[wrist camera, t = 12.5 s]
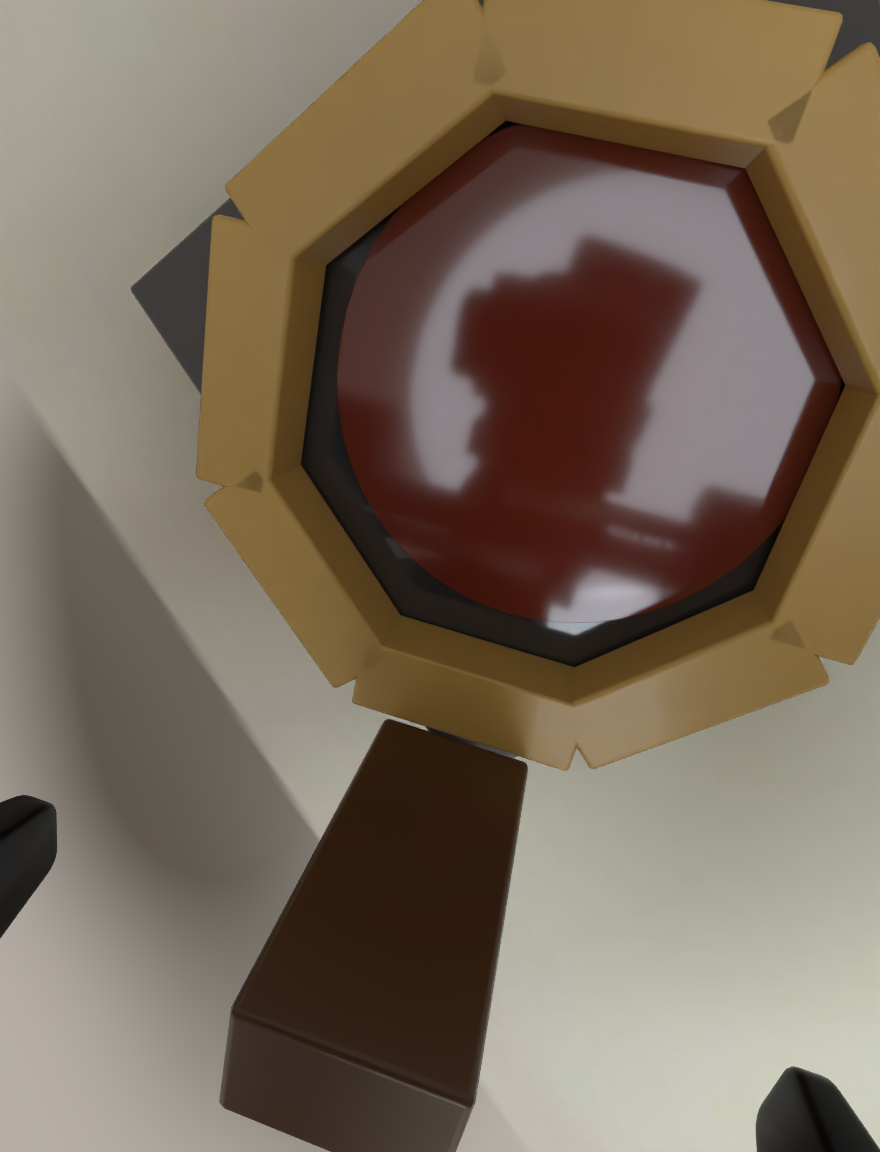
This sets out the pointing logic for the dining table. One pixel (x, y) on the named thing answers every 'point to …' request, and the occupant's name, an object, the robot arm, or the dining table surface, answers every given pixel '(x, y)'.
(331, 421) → the stove
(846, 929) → the dining table surface
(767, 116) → the ring
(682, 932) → the dining table surface
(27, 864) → the robot arm
